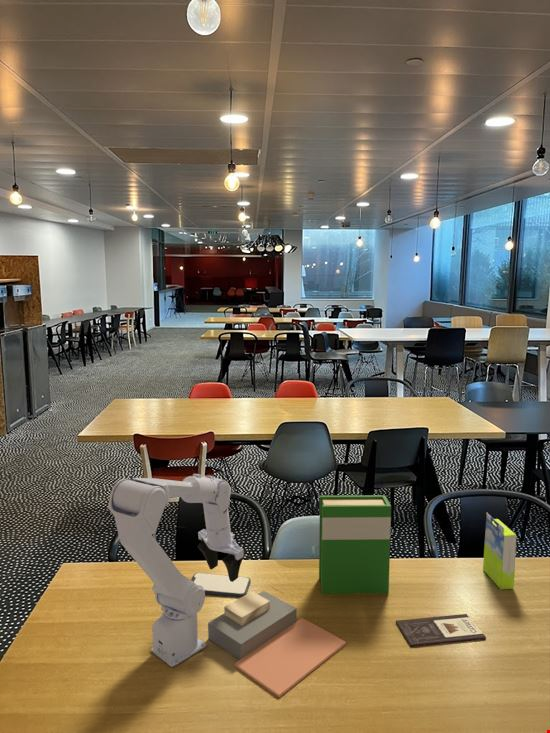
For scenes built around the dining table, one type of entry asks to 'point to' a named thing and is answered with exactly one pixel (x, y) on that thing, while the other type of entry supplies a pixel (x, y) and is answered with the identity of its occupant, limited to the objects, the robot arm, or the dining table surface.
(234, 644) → the block
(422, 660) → the dining table surface
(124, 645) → the dining table surface
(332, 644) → the mat
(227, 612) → the tile
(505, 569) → the box
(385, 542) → the hardback book
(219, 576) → the phone case
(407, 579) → the dining table surface
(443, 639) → the chocolate bar
